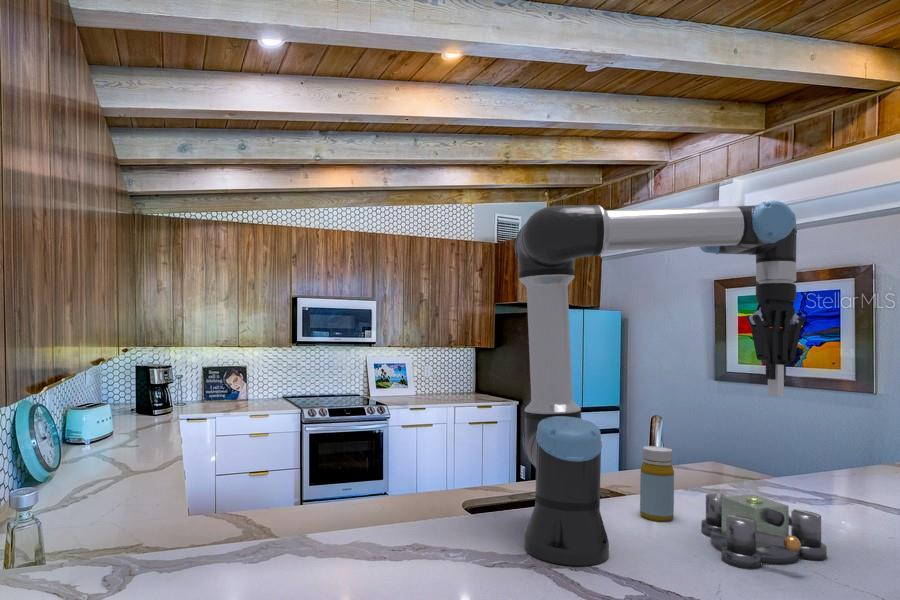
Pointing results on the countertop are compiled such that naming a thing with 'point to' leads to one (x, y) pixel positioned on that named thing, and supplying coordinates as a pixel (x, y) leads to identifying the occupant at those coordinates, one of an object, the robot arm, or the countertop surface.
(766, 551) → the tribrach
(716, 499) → the foot screw
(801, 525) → the foot screw
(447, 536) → the countertop surface
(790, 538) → the foot screw
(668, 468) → the bottle
